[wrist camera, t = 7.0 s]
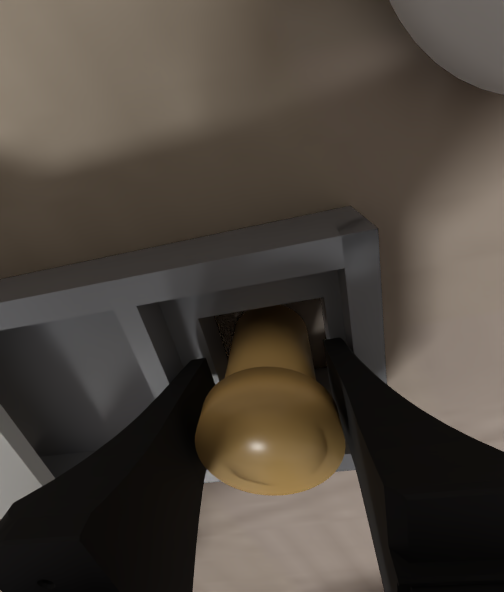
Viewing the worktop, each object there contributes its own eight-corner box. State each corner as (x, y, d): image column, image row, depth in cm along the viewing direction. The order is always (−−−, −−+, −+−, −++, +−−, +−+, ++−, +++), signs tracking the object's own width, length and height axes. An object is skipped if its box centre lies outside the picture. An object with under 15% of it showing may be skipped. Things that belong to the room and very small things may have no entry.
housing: (368, 403, 16) (391, 466, 13) (56, 439, 19) (11, 499, 16) (350, 205, 12) (378, 228, 9) (-47, 289, 15) (-135, 329, 11)
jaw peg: (324, 366, 15) (352, 489, 10) (236, 379, 16) (217, 500, 11) (310, 284, 13) (335, 380, 8) (212, 303, 14) (174, 402, 9)
